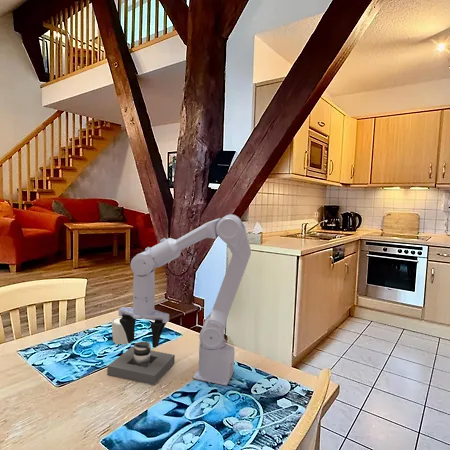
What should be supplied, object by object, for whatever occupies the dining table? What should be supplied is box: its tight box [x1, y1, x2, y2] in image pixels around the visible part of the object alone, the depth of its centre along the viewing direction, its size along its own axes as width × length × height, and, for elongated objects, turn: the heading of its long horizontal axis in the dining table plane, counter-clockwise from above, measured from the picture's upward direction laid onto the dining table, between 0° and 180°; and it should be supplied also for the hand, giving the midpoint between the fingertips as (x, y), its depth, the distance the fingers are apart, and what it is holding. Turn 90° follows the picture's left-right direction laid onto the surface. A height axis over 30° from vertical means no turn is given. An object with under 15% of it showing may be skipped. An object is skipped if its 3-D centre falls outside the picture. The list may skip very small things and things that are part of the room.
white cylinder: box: [111, 316, 129, 346], centre depth 110 cm, size 7×7×7 cm
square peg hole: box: [106, 346, 176, 386], centre depth 93 cm, size 14×12×2 cm
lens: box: [133, 341, 152, 368], centre depth 93 cm, size 4×4×7 cm
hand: (143, 343), depth 93 cm, fingers open, 7 cm apart
